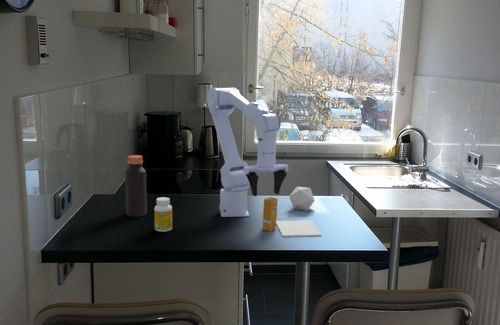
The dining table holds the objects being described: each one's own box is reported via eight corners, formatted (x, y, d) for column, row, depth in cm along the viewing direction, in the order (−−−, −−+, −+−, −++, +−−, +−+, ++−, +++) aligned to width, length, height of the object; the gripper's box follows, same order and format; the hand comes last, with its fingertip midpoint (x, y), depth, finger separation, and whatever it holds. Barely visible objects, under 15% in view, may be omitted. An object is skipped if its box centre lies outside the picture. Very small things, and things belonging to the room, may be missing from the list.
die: (317, 209, 181) (307, 185, 184) (318, 203, 173) (307, 179, 176) (296, 217, 181) (286, 193, 184) (296, 212, 172) (286, 187, 176)
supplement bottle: (157, 232, 151) (157, 202, 149) (152, 227, 155) (151, 197, 153) (174, 230, 153) (174, 200, 151) (169, 225, 158) (168, 195, 156)
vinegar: (132, 218, 164) (130, 159, 160) (122, 213, 169) (120, 156, 165) (150, 214, 168) (149, 156, 164) (140, 210, 173) (139, 153, 169)
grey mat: (282, 236, 149) (282, 235, 149) (275, 222, 163) (275, 220, 163) (321, 235, 151) (321, 234, 151) (311, 221, 164) (311, 220, 164)
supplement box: (271, 231, 154) (272, 200, 152) (262, 229, 155) (262, 198, 153) (276, 228, 156) (277, 198, 154) (267, 226, 158) (268, 196, 156)
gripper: (249, 155, 148) (249, 199, 151) (293, 153, 154) (291, 195, 156) (241, 151, 155) (240, 193, 157) (283, 149, 160) (282, 190, 163)
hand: (265, 194), depth 157 cm, fingers open, 7 cm apart
